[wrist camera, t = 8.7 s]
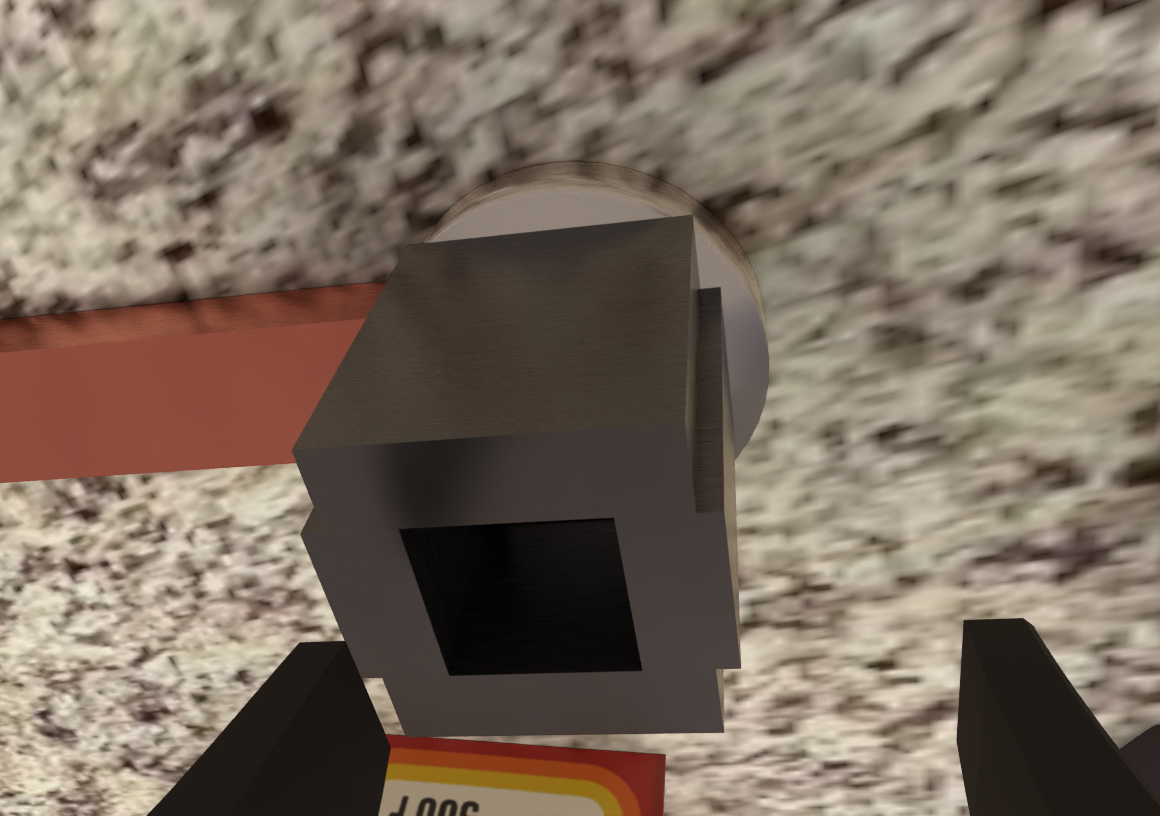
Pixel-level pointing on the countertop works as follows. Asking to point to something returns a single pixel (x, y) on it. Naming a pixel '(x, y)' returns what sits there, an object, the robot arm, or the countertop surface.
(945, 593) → the countertop surface
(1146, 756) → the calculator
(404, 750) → the baking soda box
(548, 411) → the socket
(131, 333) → the ratchet
